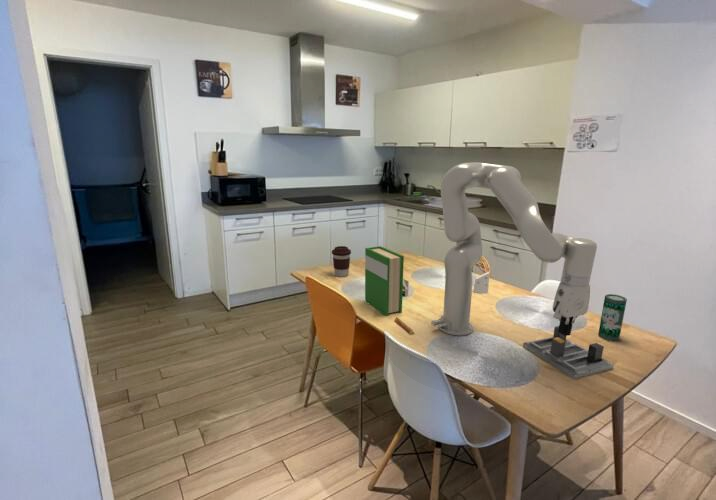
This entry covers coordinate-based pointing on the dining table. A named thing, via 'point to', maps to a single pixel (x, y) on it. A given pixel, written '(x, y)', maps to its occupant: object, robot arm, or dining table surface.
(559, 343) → the block
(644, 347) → the dining table surface
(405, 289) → the architectural model
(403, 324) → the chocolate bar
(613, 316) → the can
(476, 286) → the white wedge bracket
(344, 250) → the coffee cup
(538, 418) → the dining table surface
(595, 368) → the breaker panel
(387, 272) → the hardback book
